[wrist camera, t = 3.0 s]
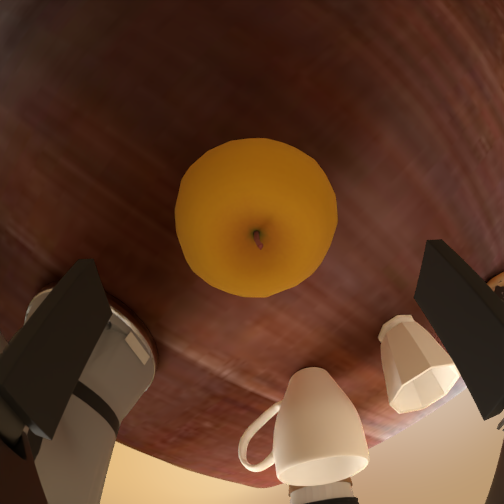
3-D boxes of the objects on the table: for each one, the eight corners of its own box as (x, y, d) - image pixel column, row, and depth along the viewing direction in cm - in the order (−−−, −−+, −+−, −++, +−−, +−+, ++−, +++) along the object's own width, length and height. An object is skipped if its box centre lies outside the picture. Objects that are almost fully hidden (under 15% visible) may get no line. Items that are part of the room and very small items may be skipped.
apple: (273, 268, 24) (283, 352, 16) (169, 215, 22) (128, 282, 14) (340, 172, 20) (393, 219, 12) (229, 105, 18) (212, 105, 10)
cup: (428, 293, 25) (467, 350, 18) (423, 358, 30) (448, 410, 23) (362, 316, 26) (390, 383, 19) (368, 377, 31) (387, 435, 24)
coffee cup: (288, 411, 34) (298, 522, 20) (351, 410, 34) (373, 511, 21) (275, 440, 38) (280, 533, 24) (331, 439, 38) (345, 526, 25)
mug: (341, 344, 28) (370, 444, 18) (350, 389, 32) (371, 473, 22) (227, 372, 30) (220, 471, 20) (252, 411, 34) (253, 495, 23)
